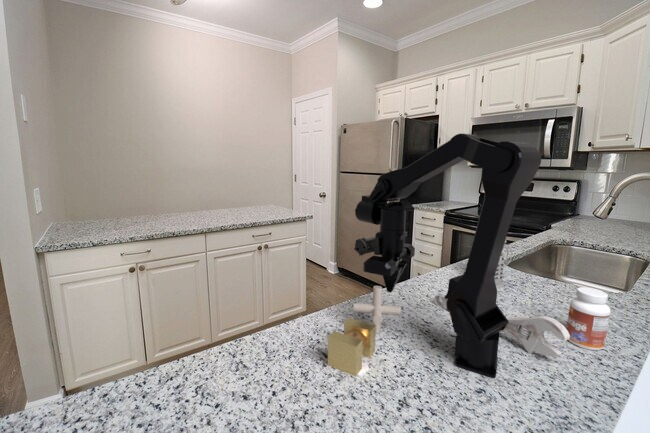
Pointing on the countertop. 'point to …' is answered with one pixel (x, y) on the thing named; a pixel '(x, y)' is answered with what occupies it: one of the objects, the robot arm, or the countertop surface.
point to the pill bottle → (588, 318)
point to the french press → (499, 280)
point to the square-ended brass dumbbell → (351, 346)
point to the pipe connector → (377, 308)
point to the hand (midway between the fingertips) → (389, 291)
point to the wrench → (529, 331)
